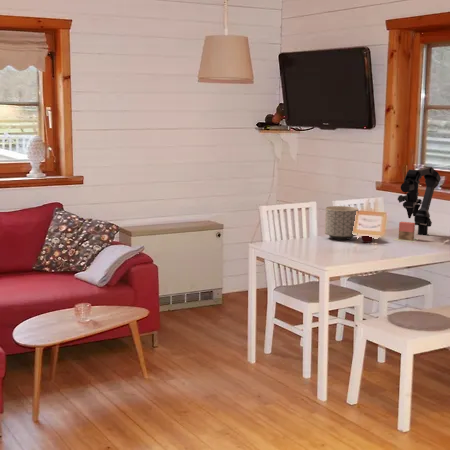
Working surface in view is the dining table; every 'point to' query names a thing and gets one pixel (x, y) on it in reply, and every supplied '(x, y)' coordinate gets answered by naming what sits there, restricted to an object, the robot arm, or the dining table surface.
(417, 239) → the plate
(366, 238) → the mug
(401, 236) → the brick walnut
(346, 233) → the planter
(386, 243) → the dining table surface
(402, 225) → the brick red
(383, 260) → the dining table surface
